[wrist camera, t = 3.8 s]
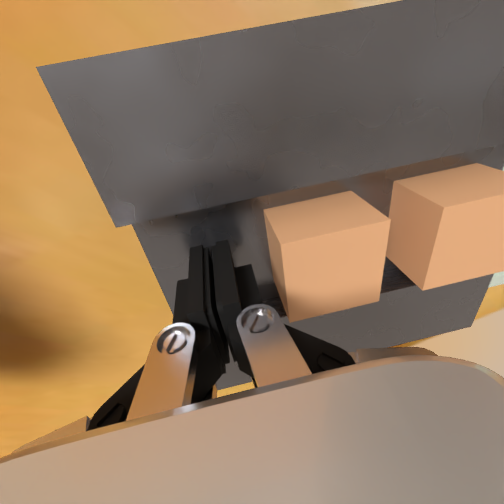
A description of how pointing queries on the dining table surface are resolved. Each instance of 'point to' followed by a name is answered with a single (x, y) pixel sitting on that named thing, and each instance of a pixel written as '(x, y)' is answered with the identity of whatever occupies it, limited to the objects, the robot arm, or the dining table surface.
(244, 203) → the slot block
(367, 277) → the chip
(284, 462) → the robot arm
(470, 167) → the chip
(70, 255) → the dining table surface
